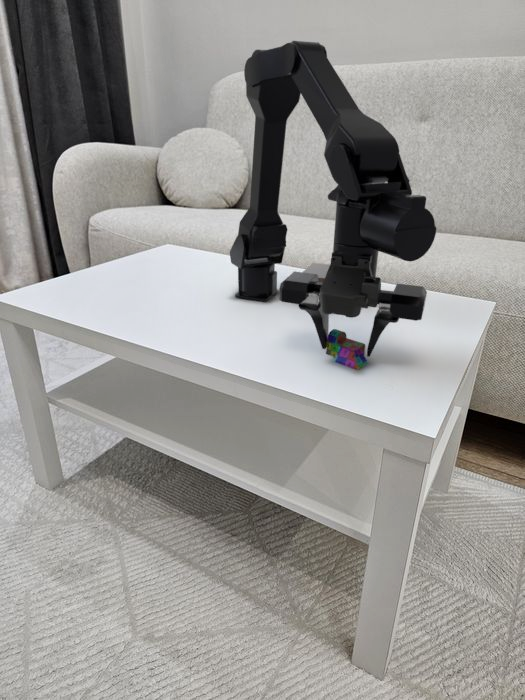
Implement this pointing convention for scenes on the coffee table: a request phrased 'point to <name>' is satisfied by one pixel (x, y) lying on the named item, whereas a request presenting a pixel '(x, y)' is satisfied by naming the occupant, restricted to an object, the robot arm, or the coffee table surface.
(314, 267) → the walnut block
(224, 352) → the coffee table surface
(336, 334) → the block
